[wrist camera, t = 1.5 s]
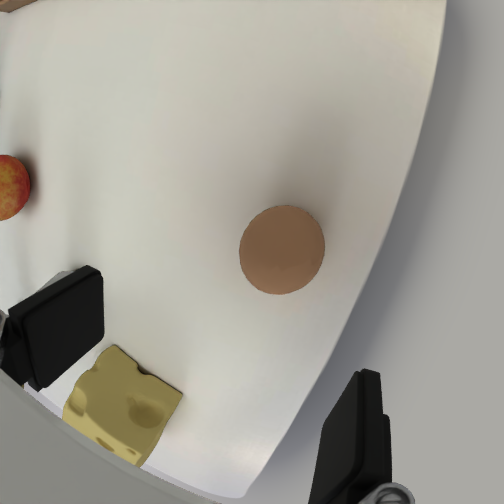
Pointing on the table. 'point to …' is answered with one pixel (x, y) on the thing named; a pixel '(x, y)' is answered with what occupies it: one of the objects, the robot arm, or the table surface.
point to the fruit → (12, 186)
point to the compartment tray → (13, 4)
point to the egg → (281, 250)
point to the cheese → (120, 406)
